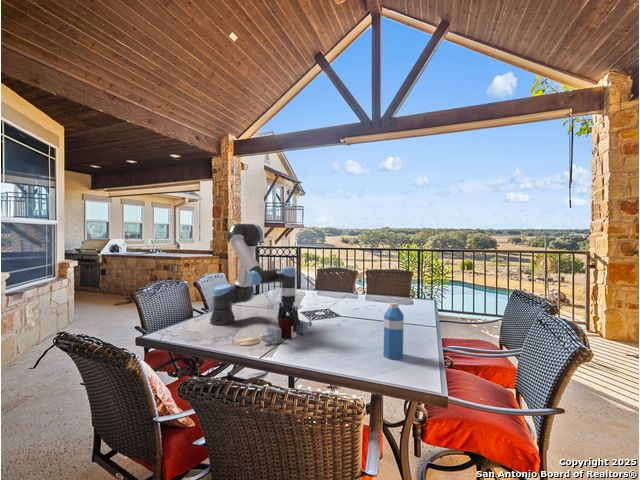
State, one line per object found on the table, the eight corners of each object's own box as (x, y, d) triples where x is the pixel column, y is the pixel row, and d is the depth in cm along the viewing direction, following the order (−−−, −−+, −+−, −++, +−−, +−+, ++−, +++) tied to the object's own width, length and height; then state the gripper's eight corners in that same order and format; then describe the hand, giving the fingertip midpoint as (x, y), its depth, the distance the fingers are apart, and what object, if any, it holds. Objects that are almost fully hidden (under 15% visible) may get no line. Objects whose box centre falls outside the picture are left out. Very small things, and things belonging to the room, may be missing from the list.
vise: (256, 341, 158) (256, 328, 158) (305, 328, 181) (305, 317, 181) (267, 347, 151) (267, 333, 151) (316, 332, 174) (316, 320, 174)
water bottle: (380, 352, 146) (381, 301, 145) (399, 351, 146) (400, 301, 146) (386, 360, 136) (387, 305, 136) (406, 359, 137) (407, 305, 137)
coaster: (232, 341, 158) (232, 340, 158) (252, 336, 167) (252, 335, 167) (244, 347, 150) (244, 346, 150) (264, 342, 158) (264, 341, 158)
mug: (300, 334, 170) (300, 315, 169) (298, 340, 161) (298, 319, 161) (280, 334, 171) (280, 314, 171) (276, 339, 162) (276, 319, 162)
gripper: (271, 292, 171) (270, 331, 172) (295, 299, 155) (295, 342, 155) (281, 291, 176) (281, 328, 177) (306, 297, 160) (306, 338, 161)
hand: (287, 335), depth 166 cm, fingers closed on mug, 9 cm apart
